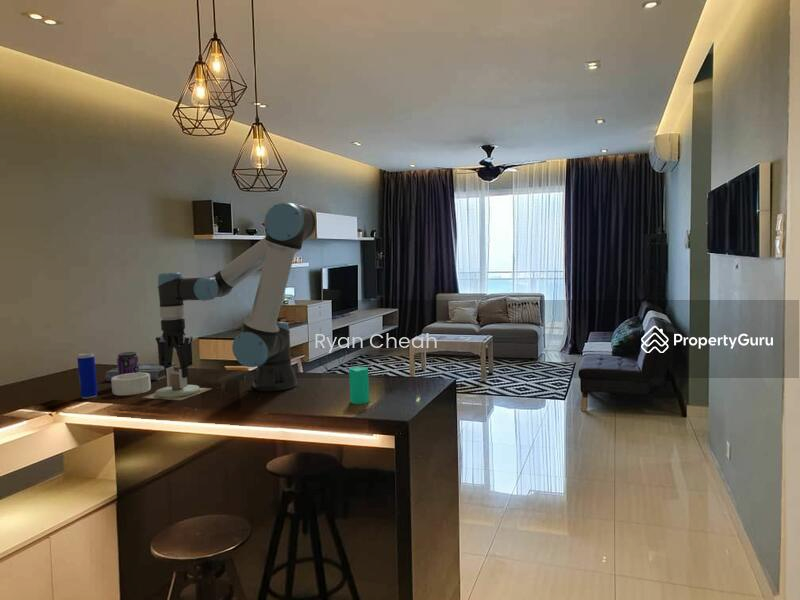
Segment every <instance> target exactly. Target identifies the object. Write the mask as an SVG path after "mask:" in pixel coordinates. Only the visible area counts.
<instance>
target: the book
mask: <svg viewBox="0 0 800 600" xmlns="http://www.w3.org/2000/svg"><path fill="white" fill-rule="evenodd" d="M138 365H139V373H140V372H141V373H149V374H150V380H158V381H160V379H161V380H163V379H165V378H167V377H166V376H165V368H164V367H163V366H160V365H159V362H158V363H157V362H155V361H154V362H152V361H151V362H148V363H138ZM172 365H173V366H171V367H174V366H176V365H178V363H177V362H172ZM177 372H178V370H174V373H177ZM114 376H118V367H116V368H112V369H111V370H108V371H105V375H104V378H105V380H106V382H111V378H112V377H114Z"/></svg>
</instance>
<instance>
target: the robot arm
mask: <svg viewBox="0 0 800 600" xmlns="http://www.w3.org/2000/svg"><path fill="white" fill-rule="evenodd" d="M263 222H264V228H265V231H266V234H265V236H264V237H263V238H261V239H260V240H259V241H258V242H256V243H254V245H253V246H251V247H249V248H248V249H247V250H246V251H244V252H243V253H241V254H240V255H239V256H238V257H236V258H234V260H232V261H231V262H229V263H228V264H226V265H225V266H223V267H222V268H221V269H220V270H219V271H217V272H215V273H214V274H213V275H209V276H201V277H185V278H184V277H183V276H182V273H181V272H179V271H176V272H172V271H171V272H161V273H159V274H158V276H157V289H158V299H159V316H160V319H161V320H160V329H161V331H162V334H161V335H160V336H156V338H155V341H156V343H157V352H158V363H159V365H160V366H163V367H164V368H165V376H166V377H165V378H166V382H167V385H166V387H172V383H171V374H172V373H174V371H175V370H174V369H175V367H174V366H173V365H172V363H173V355H174V349H175V351H176V355H177V358H178V362H179V367H178V372H179V380H180V388H183V387H186V386H187V385H188V377H189V371H188V368H189V367H191V366H193V348H192V347H193V346H192V343H193V339H194V338H193V337H192V336H187V335H186V333H185V328H186V323H185V322H186V321H185V310H184V301H202V302H204V301H213V300H214V299H215V298H223V297H226V296H227V295H229V294H231V292H232V290H233V289H234V288H235V287H236V286H237V285H239V284H240V283H241V282H242V281H244V280H246V279H247V278H249V277H250V276H251V275H253V274H254V273H255V272H257V271H258V270H260V269H261V268H262V269H261V274H260V278H259V281H258V285H257V290H256V294H255V297H254V301H253V305H252V308H251V312H250V316H249V317H248V318H246V319H244V321H243V324H242V327H241V331H240V333H239V334H237V335H236V336H235V338H234V339H233V342H232V344H231V345H232V346H231V347H232V348H231V350H232V354H233V356H234V358H235V359H236V361H237V362H238V363H240V364H241V365H242V366H245V367H247V368H255V367H256V369H255V374H254V377H253V381H252V386H253V391H254V390H255V391H257V392H278V391H286V390H289V389H294V388H295V387H297V386H298V381H297V380H298V379H297V375H296V373H295V371H294V368H293V366H292V359H291V341H290V340H291V338H290V334H291V331H290V326H289V324H288V322H286V321H278V319H279V318H278V317H279V313H280V310H281V306H282V302H283V299H284V296H285V292H286V287H287V283H288V280H289V276H290V273H291V269H292V265H293V263H294V258H295V254H296V253H298V252H299V251H301V249H302V246H303V244H304V241H306V240H307V239H309V238H310V237H311V236H312V235H313V234H314V233H315V231H316V228H317V218H316V215H315V213H314V212H313V210H312V209H311V208H310V207H308V206H306V205H303V204H297V203H293V202H288V201H287V202H286V201H285V202H280V203H279V202H278V203H276V204H273V205H272V206H271V207H270V208H269V209H268V210H267V212H266V214H265V217H264V221H263ZM171 366H173V367H171Z"/></svg>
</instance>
